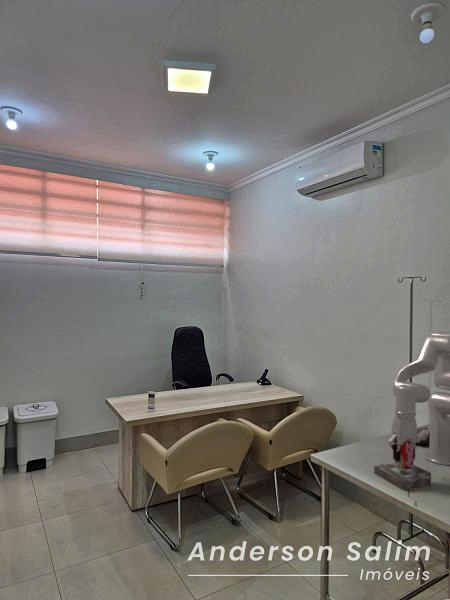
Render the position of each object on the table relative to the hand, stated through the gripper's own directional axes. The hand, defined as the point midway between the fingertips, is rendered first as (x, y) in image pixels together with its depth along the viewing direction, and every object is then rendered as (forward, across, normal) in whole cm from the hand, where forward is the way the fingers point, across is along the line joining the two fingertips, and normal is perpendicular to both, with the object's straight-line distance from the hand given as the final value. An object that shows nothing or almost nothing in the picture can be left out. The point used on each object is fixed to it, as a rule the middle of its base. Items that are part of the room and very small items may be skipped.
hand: (404, 459), depth 161 cm
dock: (+9, 0, -1) cm, 9 cm away
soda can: (+4, 0, 0) cm, 4 cm away
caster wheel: (+9, -44, -31) cm, 55 cm away
